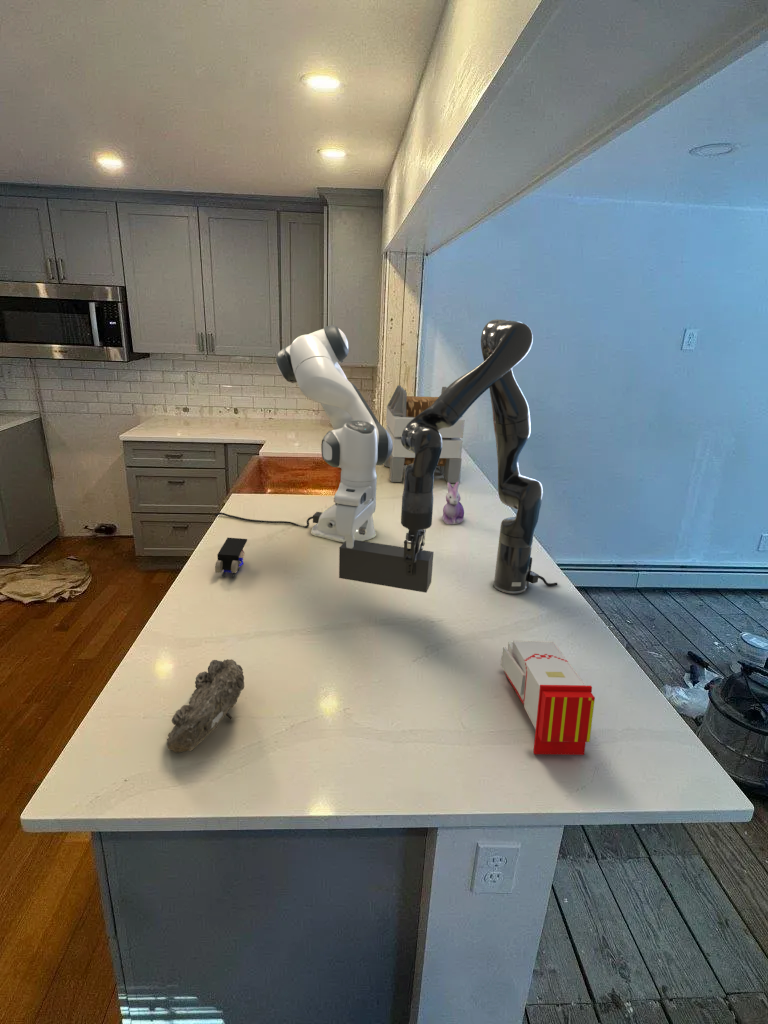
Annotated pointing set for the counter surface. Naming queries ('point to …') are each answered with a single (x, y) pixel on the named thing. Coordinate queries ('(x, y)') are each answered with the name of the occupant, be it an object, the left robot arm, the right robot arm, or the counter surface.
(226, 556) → the black wheeled block
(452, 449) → the transformer
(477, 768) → the counter surface
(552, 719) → the toy
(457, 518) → the figurine
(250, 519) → the left robot arm
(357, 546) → the box
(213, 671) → the fossil
